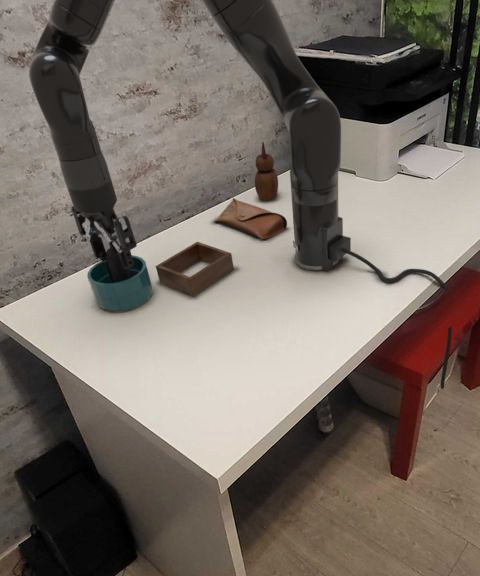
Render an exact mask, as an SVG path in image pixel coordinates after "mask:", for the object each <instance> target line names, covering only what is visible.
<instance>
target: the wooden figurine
mask: <svg viewBox="0 0 480 576" xmlns="http://www.w3.org/2000/svg"><path fill="white" fill-rule="evenodd" d="M265 147H266V146H265V142H264V141H261V154H258V155H257V156H256V157H255V167H256V170H257V171H256V173H255V175H254V189H255V192H256V195H257V196H258V198H259V199H260V200H262V201H271V200H273V199H275V198H276V197H277V195H278V191H279V177H278V174H277V173H278V172H277V170H275V168H274V167H275V163H274V162H275V161H274V158H273V156H272V154H269V153H266V148H265Z"/></svg>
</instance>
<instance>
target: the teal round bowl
mask: <svg viewBox="0 0 480 576" xmlns="http://www.w3.org/2000/svg"><path fill="white" fill-rule="evenodd" d="M131 255H132V258H133V261H134V266H133V267H131V268H129V270H130V272H131V276H132V278H130V279H127V280H125V281H122V282H117V283H114V282H112V281H111V279H110V276H109V273H108V270H107V268H106V266H105V264H104V263H103V261H102V260H100V261H98V262H97V263H94V265H93V266H92V267H90V269H89V270H88V271H87V280H88V283H89V286H90V288H91V291H92V294H93V296H94V297H93V298H94V299H95V302H96V304H97V305H98V307H99V308H101V309H103V310H106V311H109V312H115V313H117V312H118V313H119V312H120V313H121V312H127V311H130V310H133V309H136V308H138V307H140V306H142V305H144V304H145V303H146V302H148V301H149V299H150V298H151V297H152V295H153V293H154V288H153V284H152V280H151V276H150V273H149V269H148V266H147V262H146V261H145V259H144V258H143V257H140V256H138V255H133V254H131Z"/></svg>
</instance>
